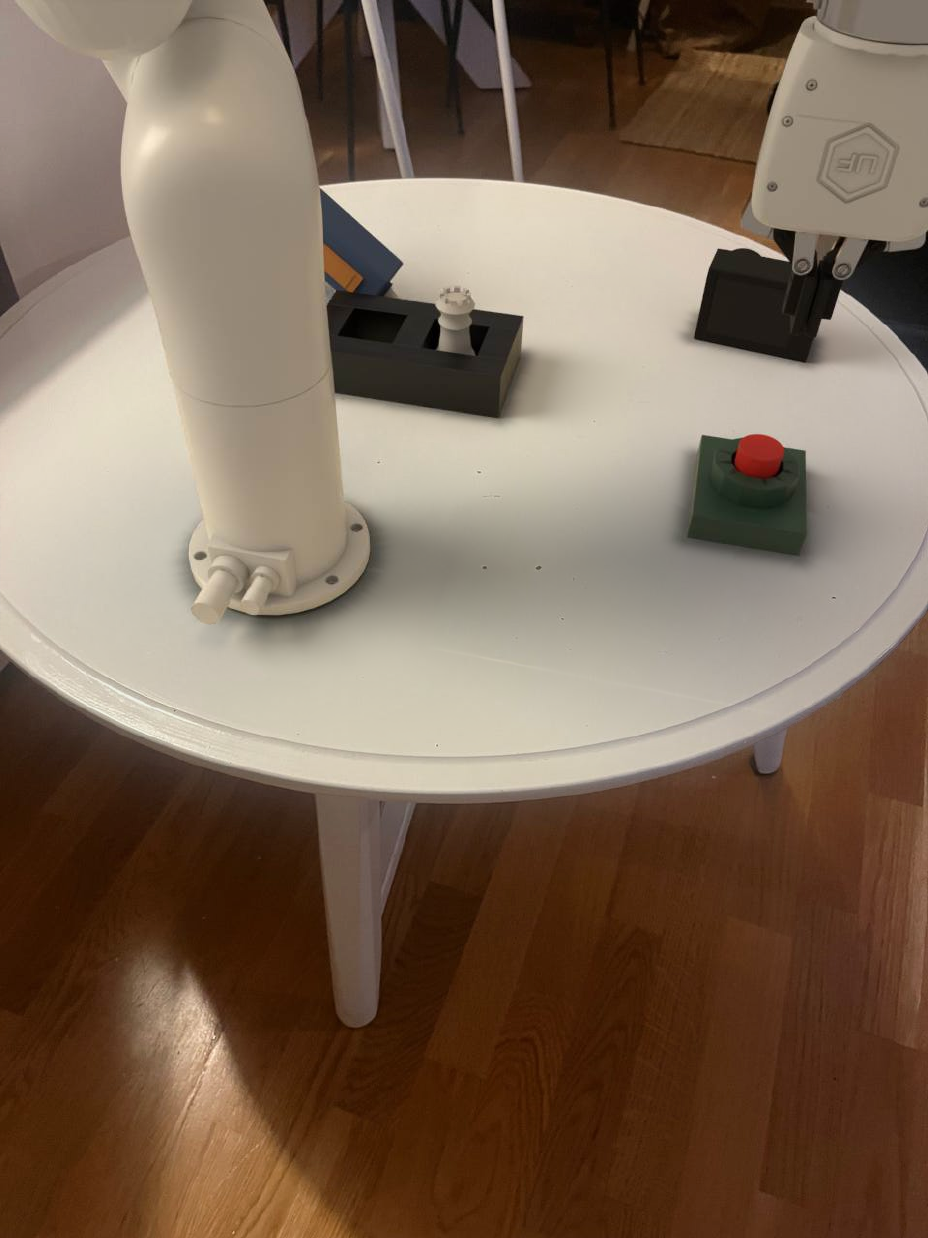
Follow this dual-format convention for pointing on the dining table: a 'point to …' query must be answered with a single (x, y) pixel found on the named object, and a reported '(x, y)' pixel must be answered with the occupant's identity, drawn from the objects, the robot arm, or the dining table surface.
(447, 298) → the rook chess piece
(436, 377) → the holder
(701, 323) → the digital camera
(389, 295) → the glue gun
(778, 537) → the switch box
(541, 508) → the dining table surface
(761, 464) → the power button
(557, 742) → the dining table surface
